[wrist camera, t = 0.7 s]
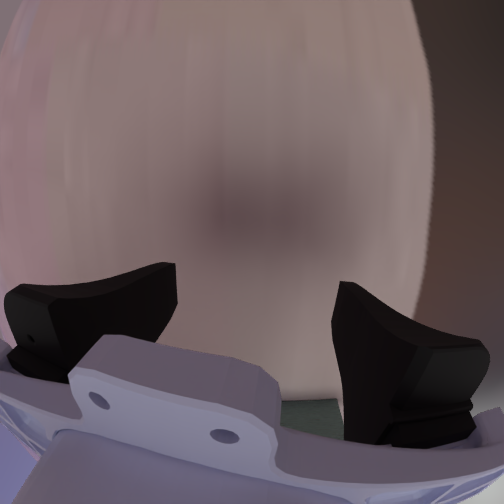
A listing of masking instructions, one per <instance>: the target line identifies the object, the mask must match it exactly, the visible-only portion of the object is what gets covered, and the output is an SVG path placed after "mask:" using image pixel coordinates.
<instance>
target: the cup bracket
mask: <svg viewBox="0 0 504 504" xmlns="http://www.w3.org/2000/svg"><path fill="white" fill-rule="evenodd" d="M280 426H283V427H287V428H290V429H294V430H298V431H302V432H306V433H310V434H315V435H319V436H324V437H329V438H334V439H339V440H344V424H343V420H342V416H341V413H340V409H339V405H338V402H337V399H326V400H309V401H282V403H281V417H280Z"/></svg>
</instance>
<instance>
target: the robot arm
mask: <svg viewBox="0 0 504 504" xmlns="http://www.w3.org/2000/svg"><path fill="white" fill-rule="evenodd" d="M177 304H178V301H177V285H176V266H175V263H167V262H160V263H155V264H152V265H148V266H145V267H142V268H139V269H136V270H133V271H130V272H127V273H124V274H121V275H117V276H114V277H111V278H107V279H103V280H98V281H93V282H87V283H79V284H71V285H34V284H20V285H18V286H17V287H15V288H14V289H12V290H11V291H9V292H8V293H6V295H5V297H4V310H5V314H6V317H7V320H8V323H9V326H10V328H11V331H12V333H13V336H14V338H15V341H16V343H17V346H16V347H15V348H14V349H12V348H11V346H10V345H9V344H8V343H6V342H5V341H3V340H2V339H0V423H2V424H3V425H4V426H5V427H6V428H7V429H8V430H9V431H10V432H11V433H13V434H14V435H15V436H16V437H17V438H18V439H19V440H20V441H22V442H23V443H24V444H25V445H26V446H28V447H29V448H30V449H31V450H32V451H34V452H35V453H36V454H37V455H39V456H40V457H41V458H40V460H39V461H38V463H37V464H36V466H35V467H34V469H33V470H32V472H31V474H30V475H29V477H28V478H27V480H26V481H25V483H24V484H23V486H22V487H21V489H20V491H19V492H18V494H17V496H16V497H15V499H14V500H13V502H12V504H457V503H459V502H461V501H464V500H466V499H468V498H471V497H473V496H475V495H477V494H479V493H480V492H482V491H483V490H484V489H486V488H487V487H488V486H490V485H491V484H492V483H493V482H494V481H496V480H497V479H498V478H499V477H501V476H502V475H503V474H504V414H503V412H502V411H501V408H500V407H497V408H494V409H491V410H487V411H484V412H481V413H479V414H477V415H476V416H474V417H473V418H472V416H471V414H470V412H469V411H471V410H472V408H473V404H472V402H471V400H470V398H471V397H472V395H473V394H474V392H475V391H476V389H477V388H478V386H479V385H480V383H481V382H482V380H483V378H484V377H485V375H486V372H487V370H488V367H489V363H490V354H489V352H488V350H487V349H486V348H485V346H484V345H483V344H482V342H481V341H480V340H478V339H472V338H467V337H461V336H456V335H452V334H448V333H445V332H441V331H439V330H436V329H433V328H430V327H427V326H425V325H422V324H420V323H418V322H416V321H414V320H412V319H410V318H408V317H406V316H404V315H402V314H400V313H399V312H397V311H395V310H394V309H392V308H391V307H389V306H388V305H386V304H385V303H383V302H382V301H380V300H379V299H377V298H376V297H375V296H373V295H372V294H371V293H369V292H368V291H367V290H365V289H364V288H362V287H361V286H359V285H358V284H356V283H354V282H345V281H340V284H339V289H338V293H337V298H336V303H335V307H334V311H333V316H332V320H331V327H332V339H333V344H334V349H335V353H336V358H337V362H338V367H339V371H340V376H341V381H342V389H343V405H344V440H339V439H334V438H329V437H324V436H319V435H315V434H310V433H306V432H302V431H298V430H294V429H290V428H287V427H283V426H280V417H281V403H282V398H281V394H280V389H279V385H278V382H277V381H276V380H275V379H274V378H272V377H271V376H270V375H269V374H268V373H267V372H266V371H264V370H263V369H262V368H261V367H260V366H257V365H254V364H251V363H247V362H244V361H241V360H238V359H235V358H233V357H227V356H220V355H214V354H208V353H202V352H197V351H191V350H186V349H181V348H176V347H171V346H167V345H162V344H157V343H155V342H156V341H157V339H158V338H159V336H160V335H161V333H162V332H163V330H164V329H165V327H166V326H167V324H168V323H169V321H170V319H171V317H172V315H173V313H174V311H175V309H176V306H177Z"/></svg>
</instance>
